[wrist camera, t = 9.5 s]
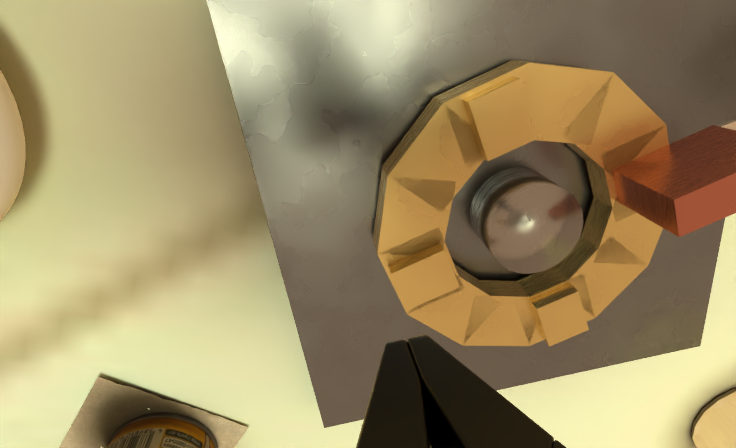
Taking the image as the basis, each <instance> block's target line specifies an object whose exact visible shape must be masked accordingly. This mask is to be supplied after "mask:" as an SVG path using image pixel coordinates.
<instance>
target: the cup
mask: <svg viewBox="0 0 736 448" xmlns="http://www.w3.org/2000/svg"><path fill="white" fill-rule="evenodd" d="M691 435H692V439H693V441H694V443H695V446H696V448H736V389H732V390H730V391H728V392H726V393H724V394H722V395H720V396H718V397H716V398H715V399H714V400H713V401H711V402H710V403H709V404H708V405H707V406H705V407H704V408H703V409H702V410H701V412H700V413H699V415H698V416H697V418H696V419H695V421H694V423H693V427H692V432H691Z"/></svg>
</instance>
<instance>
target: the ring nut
mask: <svg viewBox="0 0 736 448" xmlns="http://www.w3.org/2000/svg"><path fill="white" fill-rule="evenodd" d="M534 140H539V141H550V142H562V143H566V144H567V145H568V146H569V147H571V148H572V149H573V150H574V151H575V152H576V153H578V154H579V155H580V156H581V157H582V158H583V159H585V160H586V165H587V169H588V174H589V178H590V182H591V187H592V191H593V196H594V198H593V201H592V204H591V207H590V210H589V214H588V217H587V220H586V223H585V226H584V229H583V232H582V235H581V236H580V238H579V240H578V242H577V244H576V245H575V247H574V248H573V250H572V251H571V252H570V253H569V255H568V256H567V257H566V258H565V259H563V260H562V261H561V262H560V263H558V264H556V265H555V266H553V267H551V268H549V269H547V270H544V271H541V272H537V273H534V274H532V275H530V276H527V277H525V278H523V279H521V280H518V281H494V280H478V279H477V278H475V277H474V276H472V275H471V274H469V273H468V272H466V271H464V270H463V269H461V268H460V267H458V266H457V265H455V264H454V263H453V261H452V258H451V256H450V253H449V251H448V249H447V246H446V244H445V236H446V231H447V226H448V221H449V216H450V210H451V205H452V200H453V198H454V196H455V195H456V194H457V193H458V192H459V190H460V189H461V188H462V187H463V185H464V184H465V183H466V182H467V181H468V179H469V178H470V177H471V176H472V174H473V173H474V172H475V171H476V169H477V168H478V167H479V166H480V165H481V163H482V162H483V161H484V160H487V161H490V160H492V159H494V158H496V157H499V156H501V155H503V154H505V153H507V152H509V151H512V150H514V149H516V148H518V147H520V146H523V145H525V144H527V143H529V142H531V141H534ZM734 213H736V130H732V129H728V128H724V127H720V126H716V125H711V126H709V127H707V128H705V129H703V130H700V131H698V132H696V133H694V134H691V135H689V136H687V137H685V138H682V139H680V140H678V141H676V142H673V143H671V144H669V141H668V133H667V126H666V124H665V123H664V122H663V121H662V120H661V119H660V118H659V117H658V116H657V115H656V114H655V113H654V112H653V111H652V110H651V109H650V108H649V107H648V106H647V105H646V104H645V103H644V102H643V101H642V100H641V99H640V98H639V97H638V96H637V95H636V94H635V93H634V92H633V91H632V90H631V89H630V88H629V87H628V86H627V85H626V84H625V83H624V82H623V81H622V80H621V79H620V78H619V77H618V76H617V75H616V74H615V73H614V72H609V71H603V70H596V69H590V68H581V67H572V66H563V65H555V64H546V63H537V62H529V61H520V60H512V61H510V62H507V63H505V64H503V65H501V66H499V67H497V68H495V69H492V70H490V71H488V72H486V73H484V74H482V75H480V76H478V77H475V78H473V79H471V80H469V81H467V82H465V83H463V84H460V85H458V86H456V87H454V88H452V89H450V90H448V91H446V92H443V93H441V94H439V95H437V96H435V97H434V98H432V100H431V101H430V102H429V104H428V105H427V106H426V108H425V109H424V111H423V112H422V113H421V115H420V116H419V117H418V119H417V120H416V121H415V123H414V124H413V125H412V127H411V128H410V129H409V131H408V132H407V133H406V135H405V136H404V137H403V139H402V140H401V141H400V143H399V144H398V145H397V147H396V148H395V149H394V151H393V152H392V153H391V155H390V156H389V157H388V159H387V160H386V162H385V163H384V164H383V166H382V171H381V179H380V187H379V195H378V203H377V211H376V219H375V227H374V235H373V242H374V245H375V248H376V251H377V255H378V257H379V259H380V261H381V263H382V265H383V267H384V269H385V271H386V273H387V275H388V277H389V279H390V281H391V283H392V285H393V287H394V289H395V291H396V293H397V295H398V297H399V299H400V301H401V303H402V305H403V307H404V309H405V311H406V313H407V315H409V316H411V317H413V318H414V319H416V320H418V321H420V322H422V323H423V324H425V325H427V326H429V327H430V328H432V329H434V330H436V331H438V332H439V333H441V334H443V335H445V336H446V337H448V338H450V339H452V340H454V341H455V342H457V343H459V344H461V345H463V346H531V345H533V344H536V343H538V342H540V341H543V340H544V341H545V342H546V343H547V345H548V346H549V347H550V346H552V345H554V344H557V343H559V342H561V341H564V340H566V339H568V338H571V337H573V336H575V335H578V334H580V333H582V332H585V331H587V330H589V328H588V325H587V321H589V320H592V319H594V318H596V317H597V316H598V315H599V314H600V313H601V312H602V311H603V310H604V309H605V308H606V307H607V306H608V305H609V304H610V303H611V302H612V301H613V300H614V299H615V298H616V297H617V296H618V295H619V294H620V293H621V292H622V291H623V290H624V289H625V288H626V287H627V286H628V285H629V284H630V283H631V282H632V281H633V280H634V279H635V278H636V277H637V276H638V275H639V274H640V273H641V272H642V271H643V270H644V269H645V268H646V267H647V266H648V265H649V263H650V260H651V258H652V255H653V253H654V250H655V248H656V245H657V243H658V240H659V238H660V235H661V232H662V230H663V228H664V229H666V230H667V231H669V232H671V233H673V234H674V235H676V236H678V237H681V236H683V235H686V234H688V233H690V232H693V231H695V230H697V229H700V228H702V227H704V226H706V225H709V224H711V223H713V222H716V221H718V220H720V219H723V218H725V217H727V216H729V215H732V214H734Z"/></svg>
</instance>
